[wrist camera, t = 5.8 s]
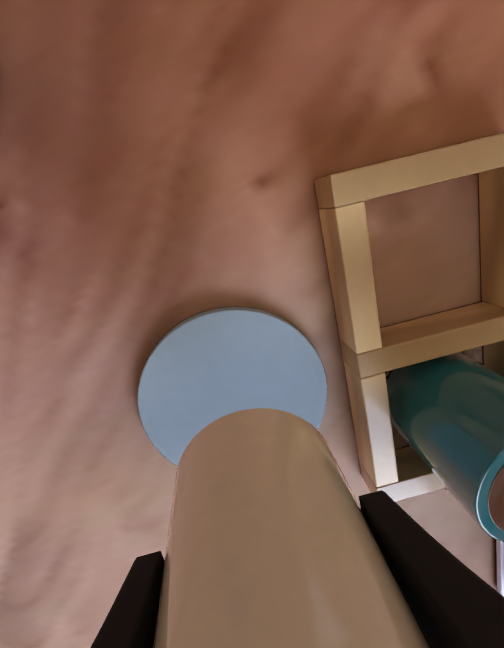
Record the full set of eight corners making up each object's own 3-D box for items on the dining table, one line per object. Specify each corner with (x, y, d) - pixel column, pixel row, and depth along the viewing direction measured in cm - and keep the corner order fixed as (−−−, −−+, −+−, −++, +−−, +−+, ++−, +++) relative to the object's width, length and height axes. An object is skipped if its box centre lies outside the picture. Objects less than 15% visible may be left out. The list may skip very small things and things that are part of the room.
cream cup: (342, 515, 13) (491, 855, 6) (200, 555, 12) (187, 952, 6) (319, 389, 11) (486, 658, 4) (154, 431, 11) (63, 782, 4)
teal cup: (475, 420, 20) (610, 524, 13) (387, 444, 20) (477, 562, 13) (472, 335, 18) (625, 404, 12) (376, 360, 18) (473, 446, 11)
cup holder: (504, 437, 20) (538, 462, 18) (361, 476, 20) (378, 506, 18) (503, 134, 15) (548, 121, 13) (313, 180, 15) (329, 174, 13)
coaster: (336, 446, 19) (340, 453, 19) (171, 491, 19) (170, 499, 18) (306, 285, 16) (310, 287, 16) (112, 334, 16) (108, 338, 16)
